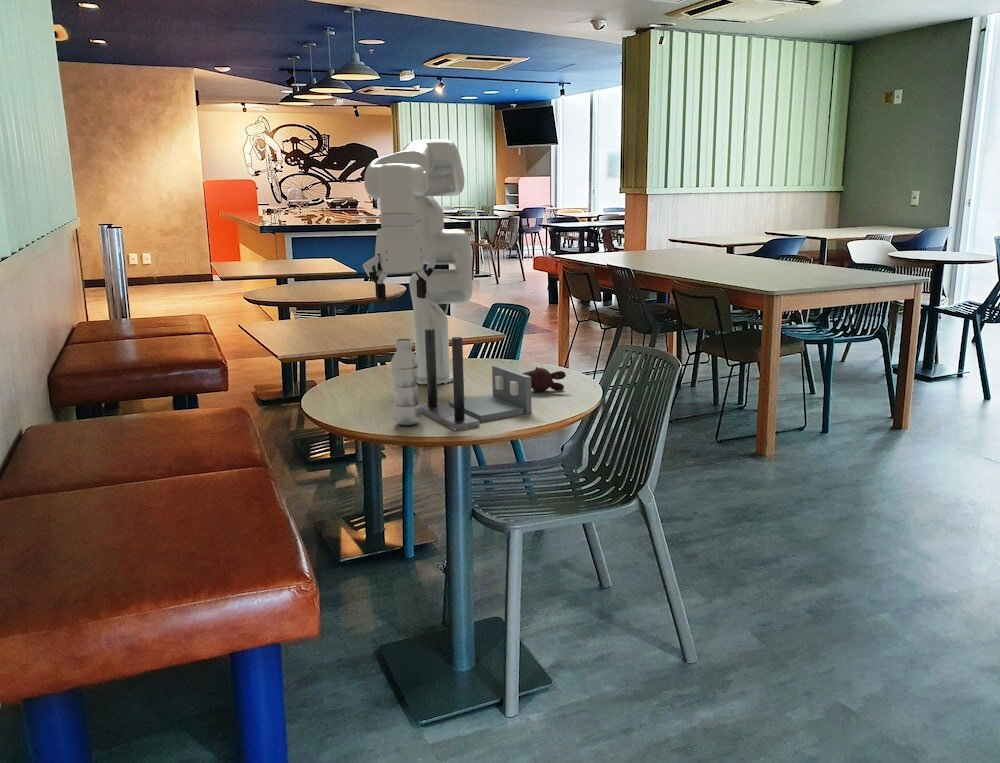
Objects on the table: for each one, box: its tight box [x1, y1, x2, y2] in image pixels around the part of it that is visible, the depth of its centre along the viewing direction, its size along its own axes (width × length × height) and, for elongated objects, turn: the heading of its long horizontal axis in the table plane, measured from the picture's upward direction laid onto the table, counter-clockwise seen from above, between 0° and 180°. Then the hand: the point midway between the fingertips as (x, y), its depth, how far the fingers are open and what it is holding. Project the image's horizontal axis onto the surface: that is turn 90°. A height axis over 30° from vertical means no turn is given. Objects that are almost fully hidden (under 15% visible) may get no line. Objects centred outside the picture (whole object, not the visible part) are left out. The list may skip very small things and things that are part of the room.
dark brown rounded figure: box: [521, 366, 567, 393], centre depth 214 cm, size 7×7×15 cm
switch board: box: [448, 364, 533, 423], centre depth 196 cm, size 16×14×9 cm
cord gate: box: [419, 329, 480, 431], centre depth 189 cm, size 22×6×20 cm, turn 31°
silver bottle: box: [390, 338, 422, 426], centre depth 184 cm, size 6×7×20 cm
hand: (401, 299), depth 179 cm, fingers open, 9 cm apart
